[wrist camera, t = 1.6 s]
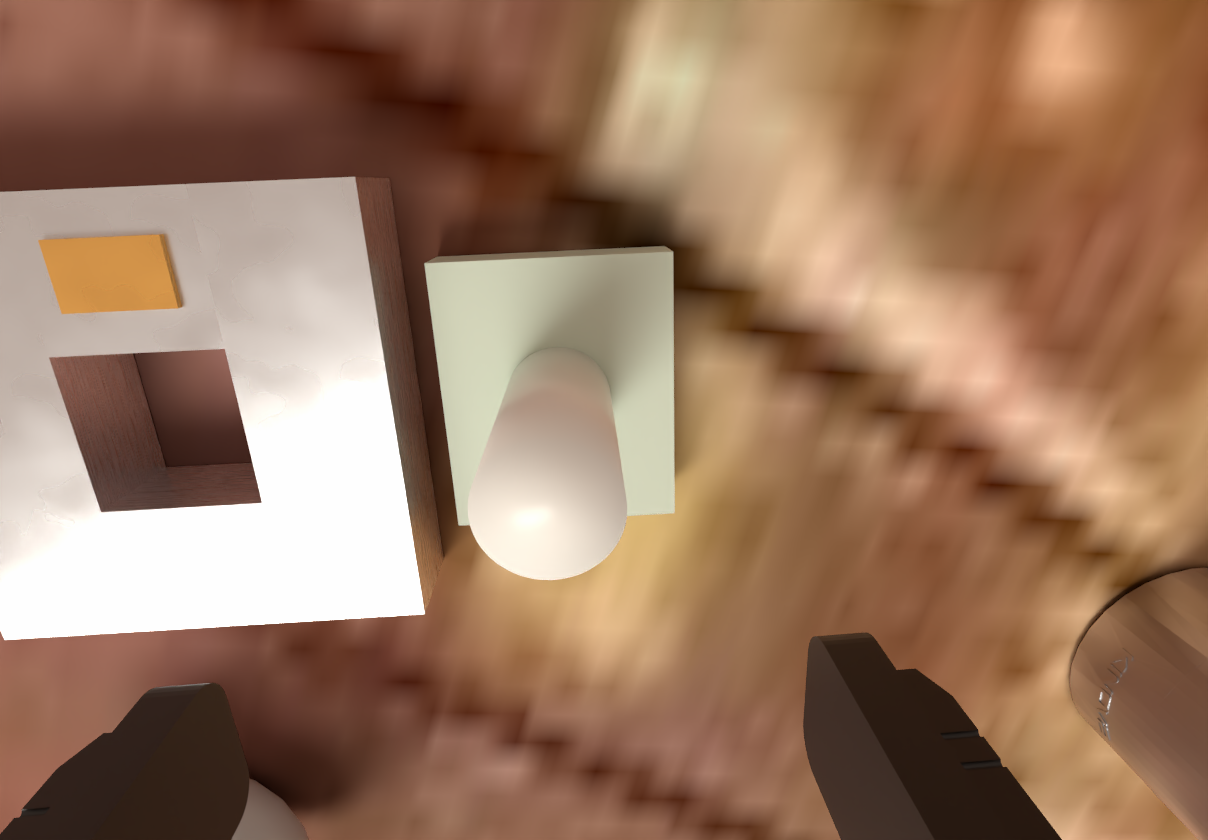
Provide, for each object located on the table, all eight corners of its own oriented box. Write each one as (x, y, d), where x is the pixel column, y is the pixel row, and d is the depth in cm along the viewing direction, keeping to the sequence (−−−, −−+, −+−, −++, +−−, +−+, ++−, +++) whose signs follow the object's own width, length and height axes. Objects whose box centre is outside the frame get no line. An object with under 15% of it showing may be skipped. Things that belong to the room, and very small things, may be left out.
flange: (389, 177, 21) (352, 176, 17) (443, 559, 26) (423, 617, 22) (-62, 197, 21) (-191, 200, 17) (78, 580, 25) (-1, 643, 22)
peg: (608, 344, 21) (624, 433, 13) (612, 443, 22) (629, 575, 15) (502, 349, 21) (459, 441, 13) (511, 448, 22) (476, 584, 15)
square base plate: (664, 245, 22) (673, 251, 20) (667, 488, 25) (674, 513, 23) (437, 256, 22) (424, 263, 20) (467, 499, 25) (458, 525, 23)
